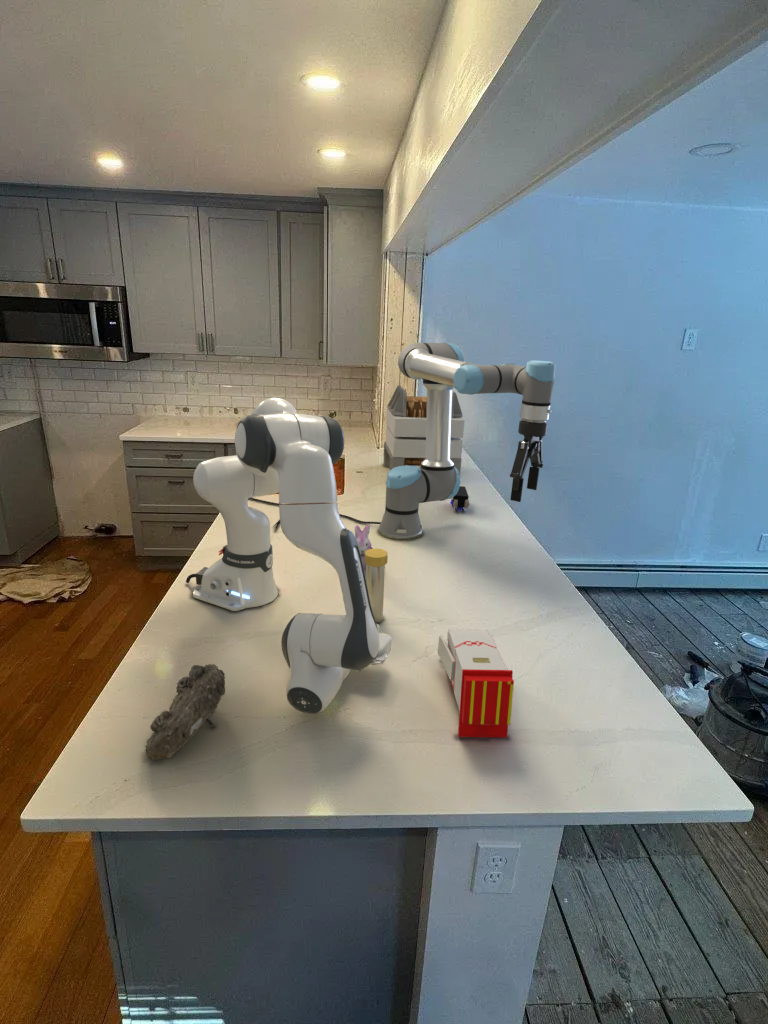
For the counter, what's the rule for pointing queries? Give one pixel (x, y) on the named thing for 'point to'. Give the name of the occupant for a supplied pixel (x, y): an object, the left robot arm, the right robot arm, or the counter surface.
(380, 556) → the lid
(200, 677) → the fossil
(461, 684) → the toy
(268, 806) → the counter surface
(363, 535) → the figurine
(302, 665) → the left robot arm
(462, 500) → the figurine character
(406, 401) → the slatted wooden crate
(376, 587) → the bottle
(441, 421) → the right robot arm
